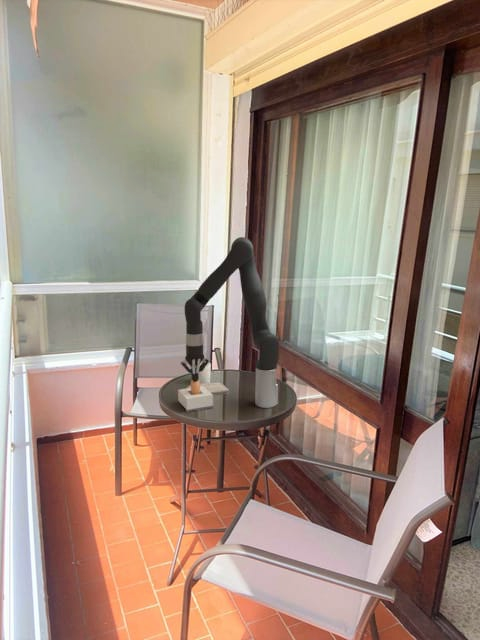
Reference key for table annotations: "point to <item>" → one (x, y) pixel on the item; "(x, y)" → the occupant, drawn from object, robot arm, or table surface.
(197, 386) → the plug
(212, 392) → the washcloth
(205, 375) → the white cup
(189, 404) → the socket block
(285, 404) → the table surface
